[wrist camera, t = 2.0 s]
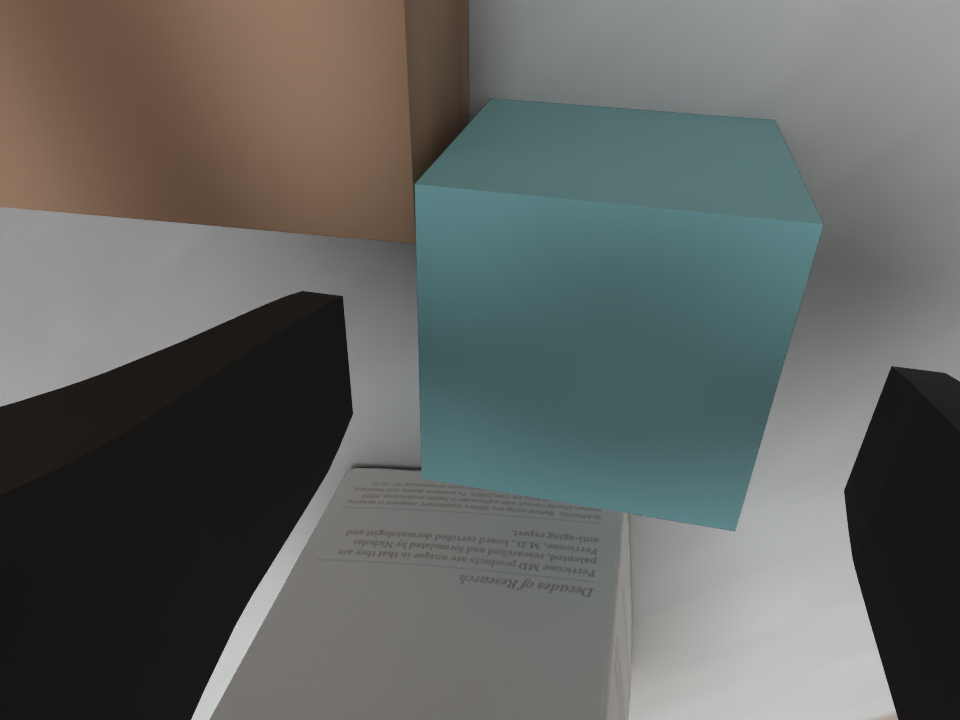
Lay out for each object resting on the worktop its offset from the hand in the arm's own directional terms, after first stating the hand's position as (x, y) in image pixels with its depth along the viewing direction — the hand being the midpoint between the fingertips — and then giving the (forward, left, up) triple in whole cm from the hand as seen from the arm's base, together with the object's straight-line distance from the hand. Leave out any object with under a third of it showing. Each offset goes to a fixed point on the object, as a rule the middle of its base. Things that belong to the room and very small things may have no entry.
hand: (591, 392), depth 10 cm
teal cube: (0, 0, -6) cm, 6 cm away
